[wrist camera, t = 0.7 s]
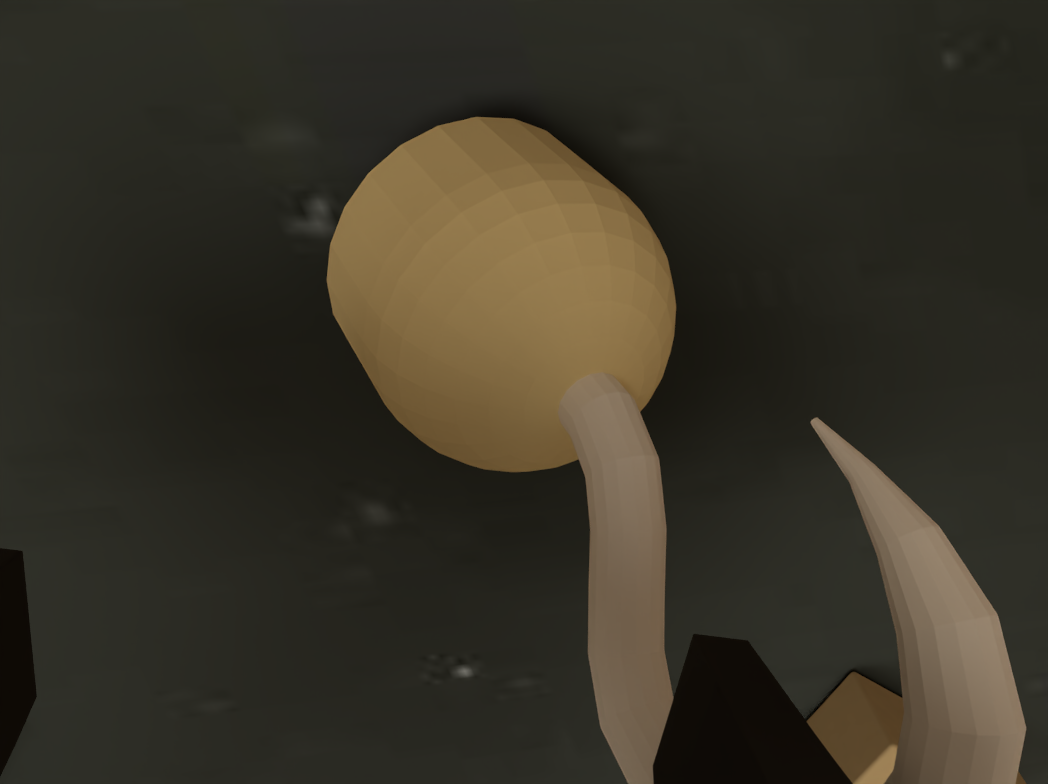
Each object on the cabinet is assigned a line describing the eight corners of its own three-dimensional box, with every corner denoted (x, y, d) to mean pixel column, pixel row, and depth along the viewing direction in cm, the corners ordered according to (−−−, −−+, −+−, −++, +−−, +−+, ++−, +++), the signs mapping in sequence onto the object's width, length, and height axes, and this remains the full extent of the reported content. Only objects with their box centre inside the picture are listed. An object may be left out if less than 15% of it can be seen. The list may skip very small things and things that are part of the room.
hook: (367, 89, 15) (957, 713, 6) (637, 143, 17) (1303, 626, 9) (288, 416, 17) (617, 1155, 9) (532, 418, 20) (961, 984, 12)
